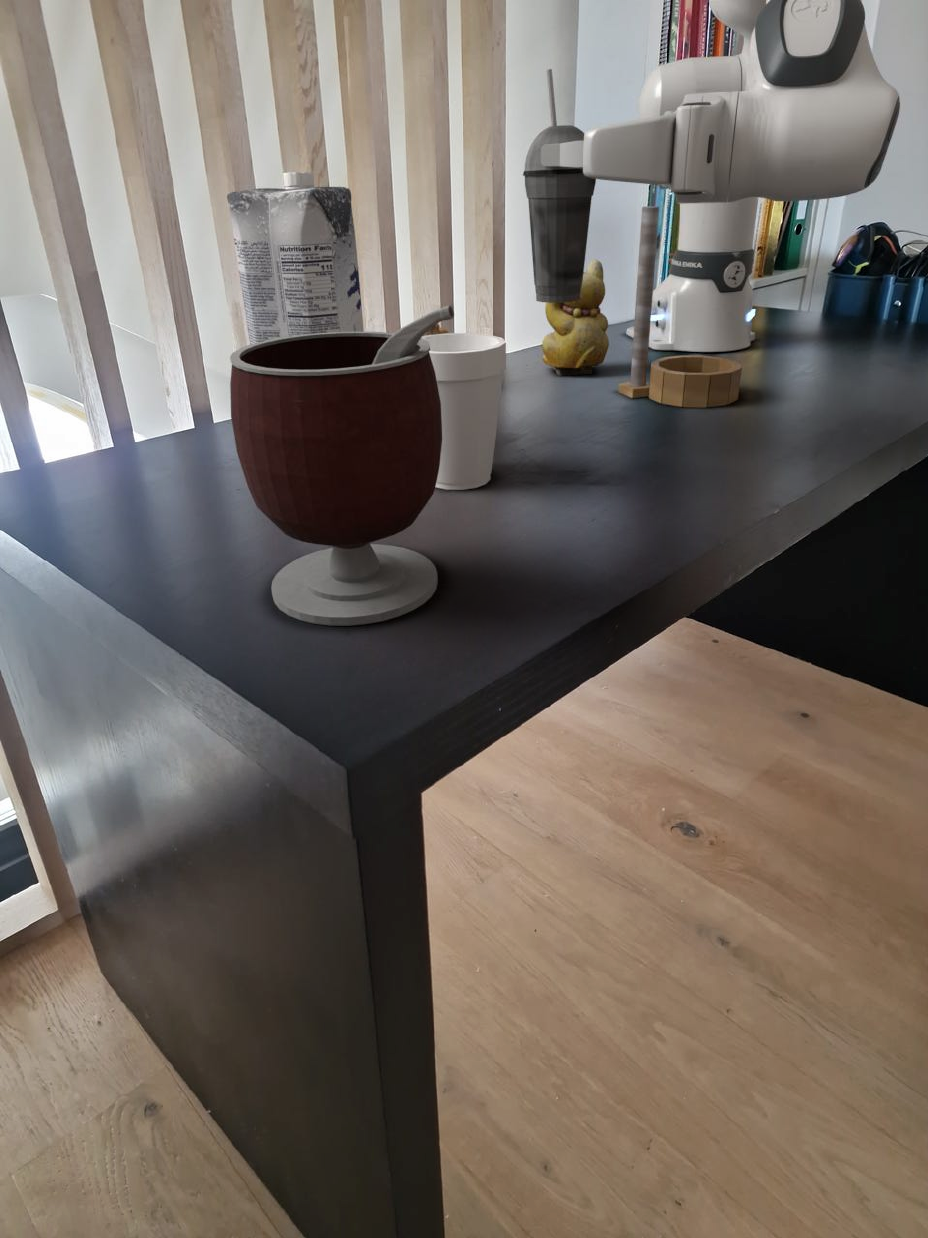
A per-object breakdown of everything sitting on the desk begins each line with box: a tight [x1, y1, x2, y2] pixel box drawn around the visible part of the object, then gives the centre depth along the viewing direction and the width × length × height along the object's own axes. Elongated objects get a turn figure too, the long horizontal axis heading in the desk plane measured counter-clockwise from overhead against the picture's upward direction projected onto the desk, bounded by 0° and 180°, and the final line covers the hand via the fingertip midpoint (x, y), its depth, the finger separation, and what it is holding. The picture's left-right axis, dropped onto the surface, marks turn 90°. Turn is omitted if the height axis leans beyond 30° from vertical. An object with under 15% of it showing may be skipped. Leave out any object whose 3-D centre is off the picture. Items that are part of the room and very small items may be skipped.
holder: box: [618, 205, 743, 409], centre depth 101 cm, size 12×13×22 cm
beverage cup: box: [522, 68, 597, 303], centre depth 81 cm, size 7×7×20 cm
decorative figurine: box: [541, 259, 610, 377], centre depth 117 cm, size 10×8×15 cm
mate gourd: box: [229, 304, 455, 627], centre depth 57 cm, size 16×14×20 cm
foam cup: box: [421, 332, 507, 491], centre depth 79 cm, size 10×9×13 cm
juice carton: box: [226, 171, 365, 345], centre depth 84 cm, size 9×10×27 cm
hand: (550, 155), depth 79 cm, fingers closed on beverage cup, 7 cm apart
